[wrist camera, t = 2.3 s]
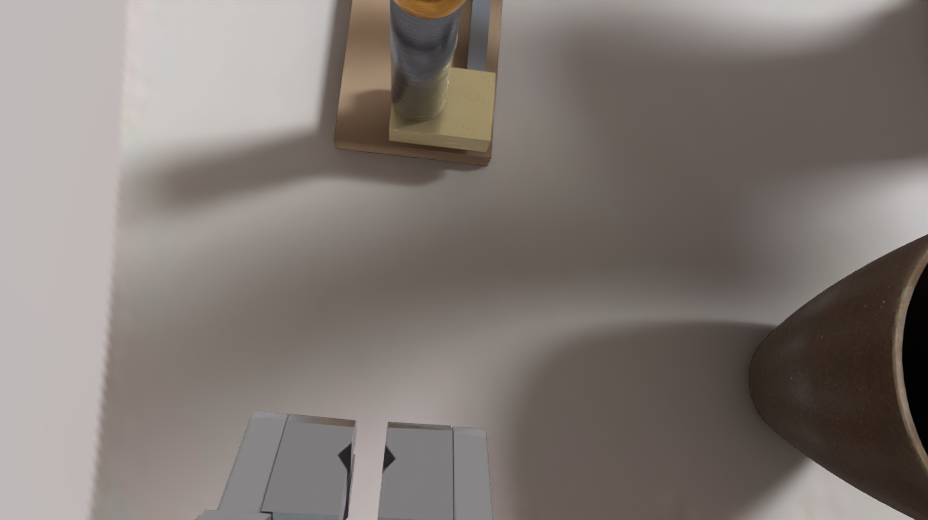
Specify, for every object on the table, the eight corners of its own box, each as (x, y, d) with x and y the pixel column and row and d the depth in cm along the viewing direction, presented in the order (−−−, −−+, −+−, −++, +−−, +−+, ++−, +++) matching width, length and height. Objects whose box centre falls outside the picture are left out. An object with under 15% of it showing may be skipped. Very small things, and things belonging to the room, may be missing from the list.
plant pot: (659, 306, 39) (836, 258, 23) (848, 245, 41) (1122, 164, 26) (744, 535, 37) (1002, 651, 21) (938, 455, 39) (1298, 507, 24)
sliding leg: (484, 156, 37) (546, 4, 22) (382, 144, 37) (374, -21, 21) (489, 93, 38) (551, -96, 23) (390, 80, 38) (387, -123, 22)
